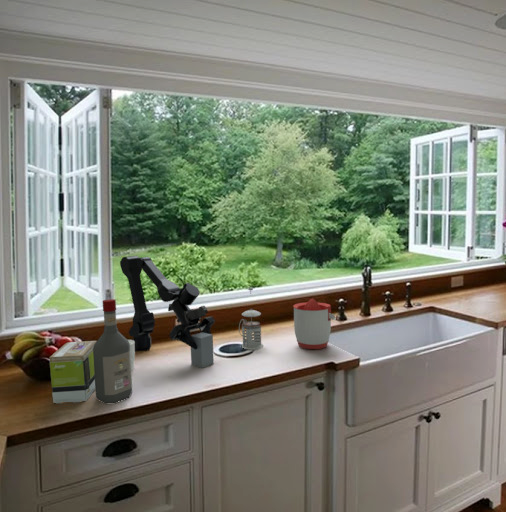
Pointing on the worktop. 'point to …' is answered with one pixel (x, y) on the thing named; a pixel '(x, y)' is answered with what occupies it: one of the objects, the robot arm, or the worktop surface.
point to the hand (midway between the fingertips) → (204, 346)
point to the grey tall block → (202, 350)
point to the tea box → (73, 372)
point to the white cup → (132, 353)
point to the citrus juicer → (312, 324)
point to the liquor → (112, 360)
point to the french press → (251, 330)
